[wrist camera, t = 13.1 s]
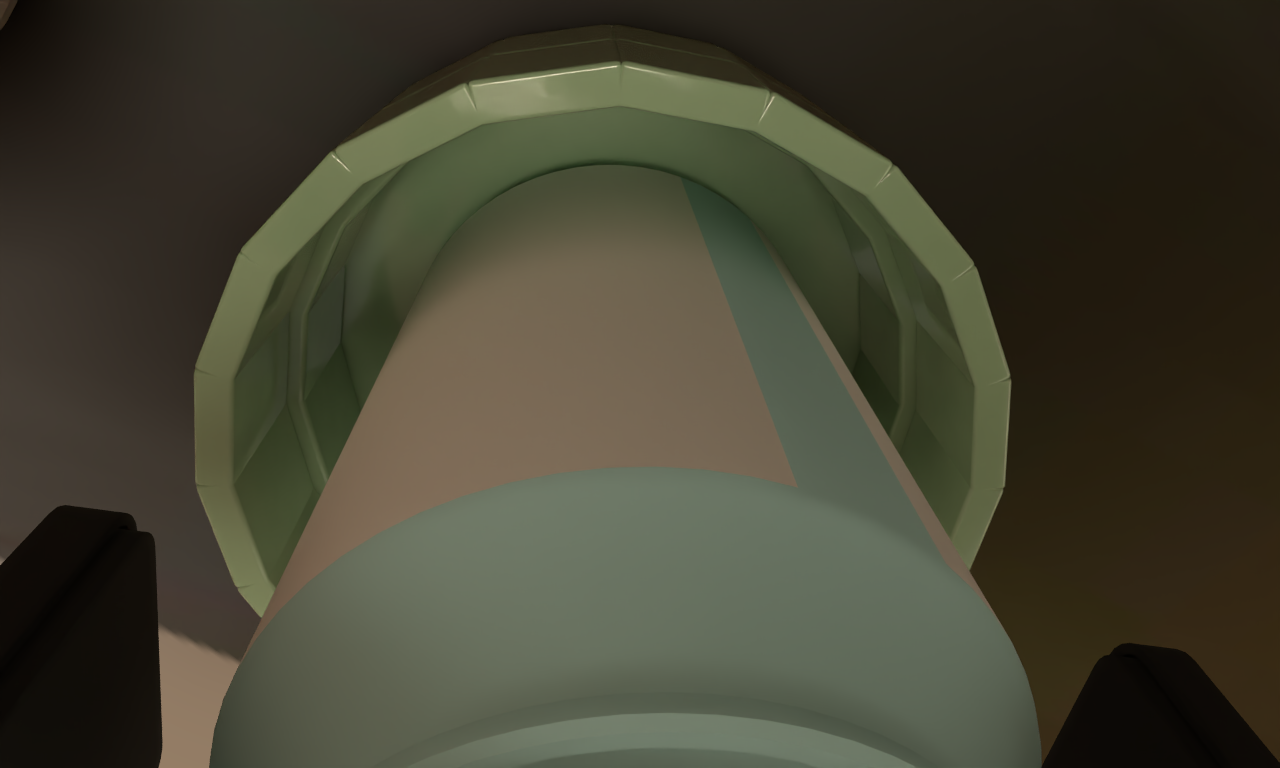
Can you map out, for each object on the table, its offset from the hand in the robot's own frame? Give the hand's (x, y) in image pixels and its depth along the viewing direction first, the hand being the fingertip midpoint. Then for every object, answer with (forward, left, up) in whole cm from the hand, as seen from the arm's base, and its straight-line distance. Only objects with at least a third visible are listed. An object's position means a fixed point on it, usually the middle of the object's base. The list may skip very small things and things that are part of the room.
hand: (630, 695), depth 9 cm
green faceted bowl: (0, 0, -9) cm, 9 cm away
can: (0, 0, -9) cm, 9 cm away
